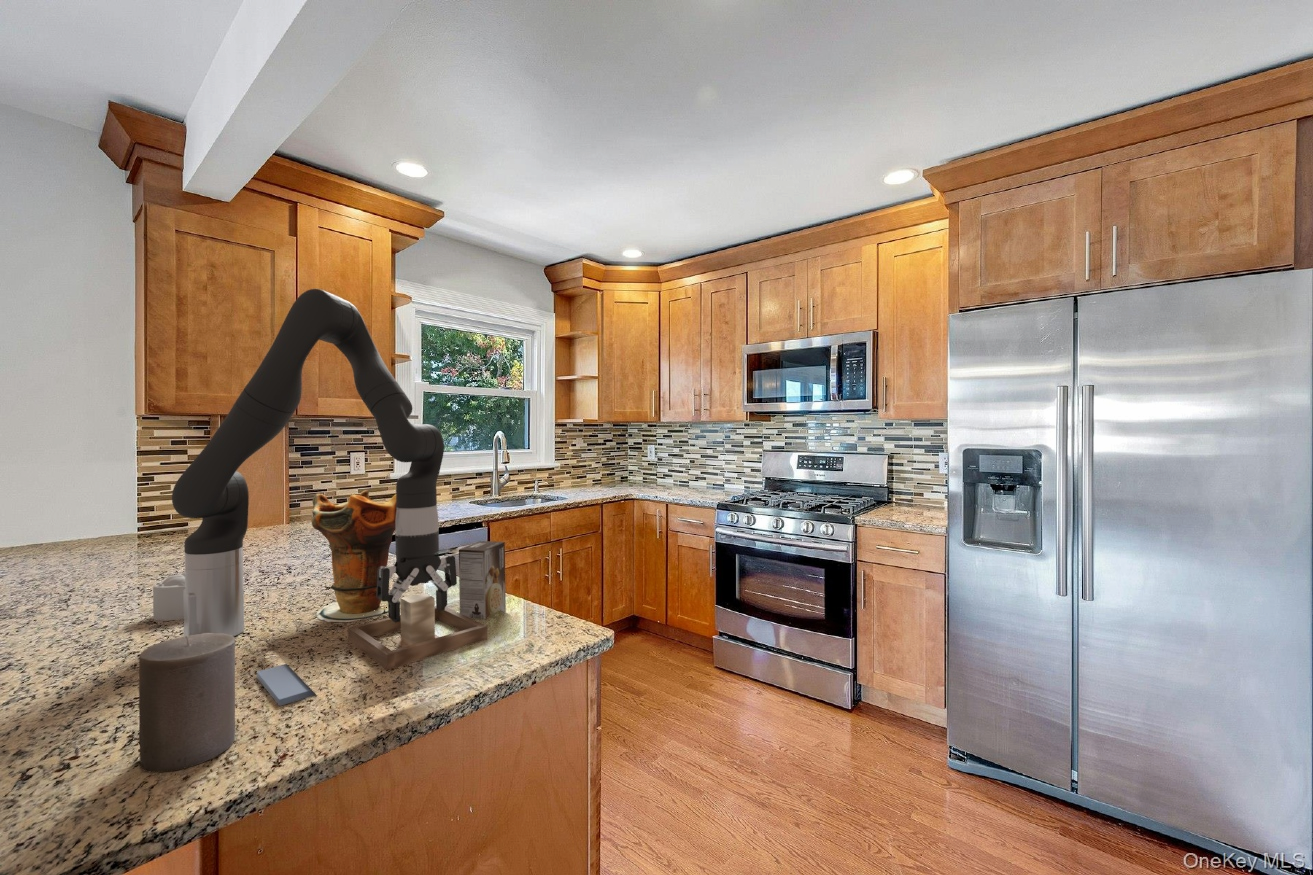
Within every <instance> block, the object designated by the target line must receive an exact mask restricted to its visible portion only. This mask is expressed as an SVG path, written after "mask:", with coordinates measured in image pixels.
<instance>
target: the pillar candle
mask: <svg viewBox="0 0 1313 875" xmlns="http://www.w3.org/2000/svg"><path fill="white" fill-rule="evenodd" d="M138 658H139V661H138V662H139V663H138V677H139V678H138V711H139V719H138V720H139V721H138V724H139V725H138V727H139V730H138V731H139V735H138V738H139V740H138V745H139V761H138V766H139V768H140V769H141V770H142V771H144V772H147V773H165V772H167V773H168V772H173V771H178V770H182V769H186V768H187V769H188V768H191V767H195V766H197V765H200V764H202V763H205V762H207V761H209V760H212V759H213V758H215V757H217V756H219V755H221V754H222V753H224V752H225V751H226V750H229V748H230V747H231V746H232V745H233V743H234V742H235V740H236V739H235V738H236V737H235V735H236V730H235V729H236V677H235V676H236V660H235V659H236V636H232V635H228V634H221V633H203V634H196V635H190V636H184V635H183V636H181V637H175V638H171V639H167V640H164V641H161V642H158V643H156V644H153V645H151V646H149V647H147V648H145V649H144V650H142V651H141V652H140V654H139V657H138Z"/></svg>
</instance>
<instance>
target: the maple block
mask: <svg viewBox="0 0 1313 875" xmlns="http://www.w3.org/2000/svg"><path fill="white" fill-rule="evenodd" d="M399 600H400V601H401V607H400V615H401V630H400V638H401V640H402V641H403V642H405V643H406V644H408V645H413V644H417V643H420V642H424V641H427V640H431V639H434V638H435V635H436V628H435V627H436V626H435V624H436V623H435V622H436V621H435V606H436V597H434V596H432V595H431V594H427V593H425V592H421V593H417V594H412V595H408V596H403V597H400V598H399Z"/></svg>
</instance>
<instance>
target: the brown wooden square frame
mask: <svg viewBox="0 0 1313 875" xmlns="http://www.w3.org/2000/svg"><path fill="white" fill-rule="evenodd" d="M436 621H441V622H443V623H445V624H446V625H449V626H451V627H452V628H455V629H457V630H458V631H456V632H453V633H450V634H446V635H441V636H439V635H437V634H435V638H434V639H431V640H427V641H424V642H420V643H417V644H413V645H408V644H406V643H405V642H403V641H402V640H401V637H399V638H395V639H391V642H393V643H394V644H396V645H398V646H399V647H400V648H397V649H392V650H391V649H390V648H389V647H387V646H385V645H384V644H383V643H381V642H379V641H378V640H377V639H375V638H374V637H377V636H381V635H386V634H388V633H394V632H397V631H401V614H400V622H396V623H395V622H393V621H392V619H390V618H389V617H387V618H383V619H378V620H373V621H370V622H366V623H361V624H357V625H353V626H349V627H347V641H348V642H349V643H350V644H352V645H353V646H354V647H356V648H357V649H358V650H359V651H361V652H362V653H363V654H365V655H366V656H367V657H369V658H371V660H373V661H375V662H376V663H377V664H379V665H380V666H381V667H383V668H384V669H385V670H386V671H387V670H388V671H389V670H391V669H395V668H398V667H401V666H404V665H405V666H406V665H408V664H412V663H415V662H417V661H420V660H424V659H427V658H430V657H434V656H437V655H438V656H439V655H442V654H444V653H447V652H450V651H454V650H457V649H461V648H463V647H468V646H469V645H474V644H476V643H477V644H478V643H480V642H483V641H486V640H487V641H488V625H486V624H484V623H482V622H479V621H477V620H474V618H469V617H467V616H465V615H462V614H460V612H457V611H456V610H454V609H452V608H449V607H447V606H446V607H445V610H443V611H439V610H437V608H436V605H435V622H436Z"/></svg>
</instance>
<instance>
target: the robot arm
mask: <svg viewBox="0 0 1313 875" xmlns="http://www.w3.org/2000/svg"><path fill="white" fill-rule="evenodd" d="M318 341H322V342H326V343H329V344H333V345H334V346H335V347H336V348H337V349H338V350H339V351H340V352H341V353H342V355H344V357H346V359H347V361H348V362H349V364H350V366H351V368H352V372H353V378H354V379H353V380H354V385H355V386H354V387H355V389H356V390H357V393H358V396H359V397H360V399H361V400H362V401H363V403H364V405H365V406H366V408H367V409H368V410H369V413H371V415H372V417H373V418H374V420H375V422H376V426H377V429H378V433H379V435H380V438H381V442H382V445H383V447H384V449H385V450H386V452H387V453H388V454H389V455H390V457H392V458H393V459H394V460H396V461H397V462H401V463H410V466H409V470H408V472H407V473H406V474H404V475H402V476H400V477H399V478H398V479H397V480H396V484H395V486H396V488H395V491H396V493H395V494H396V507H397V508H396V517H395V531H394V533H395V535H394V536H395V538H394V540H395V558H396V559H395V563H394V565H390V566H387V567H384V566H380V567H378V572H377V594H376V597H377V598H378V599H380V600H382V601H384V602H385V601H388V613H387V615H388V616H387V617H388V618H390V619H392V621H393V622H395V623H396V622H400V615H401V607H400V602H399V601H398V600H400V598H402V595H403V593H405V592H407V590H408V588H409V587H410V586H411V587H416V586H418V585H420V584H428V583H430V582H431V583H432V584H433V585H434V587H435V588H437V589H436V590H435V606H436V608H437V610H439V611H443V610H445V607H447V606H448V590H449V589H450V588H451V587H455V586H456V585H457V583H458V579H457V578H458V577H457V566H456V565H457V564H456V556H455V555H451V554H448V553H445V554H444V555H443V556H439V555H440V554H439V551H440V541H439V540H440V538H439V531H440V530H439V527H440V522H439V513H438V512H439V511H438V503H437V499H438V498H437V496H438V494H437V493H438V492H437V481H438V478H439V475H440V471H441V467H442V462H443V459H444V458H443V457H444V454H445V443H444V437H443V434H442V432H441V431H440V430H439V429H438V427H436V426H434V425H432V424H427V423H425V424H424V423H423V424H422V423H420V424H419V423H418V424H415V423H411V422H410V421H409V419H408V418H409V417H410V416H411V414H412V413H413V404H412V402H411V400H410V398H409V397H408V396H407V394H406V392H404V390H403V389H402V387H401V386H400V384H399V382H397V380H396V379H395V377H394V376H393V374H392V373H391V372H390V370H389V369H388V367H387V365H386V363H385V362H384V360H383V358H382V356H381V354H380V352H379V351H378V348H377V346H376V344H375V342H374V340H373V338H372V337H371V334H370V332H369V330H368V328H367V325H366V323H365V320H364V318H363V316H362V314H361V313H360V311H359V310H358V308H357V307H356V305H354V304H353V303H352V302H350V301H348V300H346V299H345V298H342V297H340V296H338V295H336V294H333V293H331V292H329V291H326V290H324V289H320V288H311V289H308V290H306V291H304V292H303V293H301V294H300V295H299V296H298V297H297V298H296V299H295V301H294V303H293V304H292V306H291V308H290V309H289V311H288V313H287V314H286V317H285V319H284V321H283V322H282V325H281V327H280V329H279V331H278V333H277V334H276V337H275V339H274V341H273V342H272V345H271V346H270V348H269V349H268V351H267V353H266V354H265V356H264V358H263V359H262V361H261V362H260V364H259V366H258V368H257V369H256V371H255V372H254V374H253V376H251V378H250V380H248V382H247V384H246V385H245V386H244V388H243V389H242V391H241V393H240V394H239V396H237V398H236V400H235V402H234V403H233V405H232V407H231V408H230V410H229V412H228V413H227V415H226V416H225V418H224V419H223V421H222V423H221V424H220V425H219V427H218V428H217V429H216V430H215V433H214V434H213V435H212V436H211V438H210V440H209V441H208V443H207V444H206V445H205V447H204V448H203V449H202V450H201V451H200V453H199V454H198V455H197V456H196V457H195V458H194V460H193V461H192V462H191V463H190V464H189V466H187V468H186V469H185V470H184V471H183V473H182V474H181V475H180V476H179V478H178V480H176V482H175V484H174V486H173V490H172V494H171V502H172V506H173V509H174V510H175V512H176V513H177V514H179V515H180V516H182V517H184V518H188V519H202V520H201V524H200V525H199V527H198V528H197V529H196V530H194V531H193V532H192V533H191V534H190V535H188V536H187V537H186V538H185V540H184V545H183V546H184V572H185V589H184V591H183V601H184V619H183V637H184V636H190V635H196V634H203V633H221V634H228V635H232V636H233V637H236V636H237V635H240V634H242V633H243V632H244V630H245V596H244V594H245V593H244V592H245V591H244V538H245V535H246V534H247V531H248V524H249V504H250V503H249V501H250V495H249V492H250V491H249V487H248V482H247V481H246V479H245V477H244V475H243V474H241V472H239V471H237V470H238V469H239V468H240V467H241V466H242V464H243V463H245V461H247V460H248V459H249V458H250V457H251V456H252V455H254V454H256V452H258V451H259V450H260V449H262V448H263V447H264V446H266V445H267V444H268V443H269V442H271V441H272V440H274V439H275V437H277V435H279V434H280V433H281V432H282V430H283V429H284V428H285V427H286V425H287V424H288V422H289V421H290V419H291V418H292V416H294V413H295V412H296V410H297V408H298V407H299V405H300V403H301V400H302V392H303V391H302V389H303V387H302V386H303V385H302V384H303V383H302V380H303V378H302V375H303V367H304V364H305V362H306V360H307V358H308V356H309V355H310V353H311V351H312V350H313V348H314V346H315V345H316V344H317V343H318ZM440 566H442V567H443V568H444V569H443V570H444V571H443V572H444V580H443V578H442V577H441V575H439V574H438V571H437V570H439V568H440ZM394 573H395V574H396V575H397V577H396V579H395V581H394V582H393V584H392V587H391V589H390V579H391V578H392V577H393V574H394Z"/></svg>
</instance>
